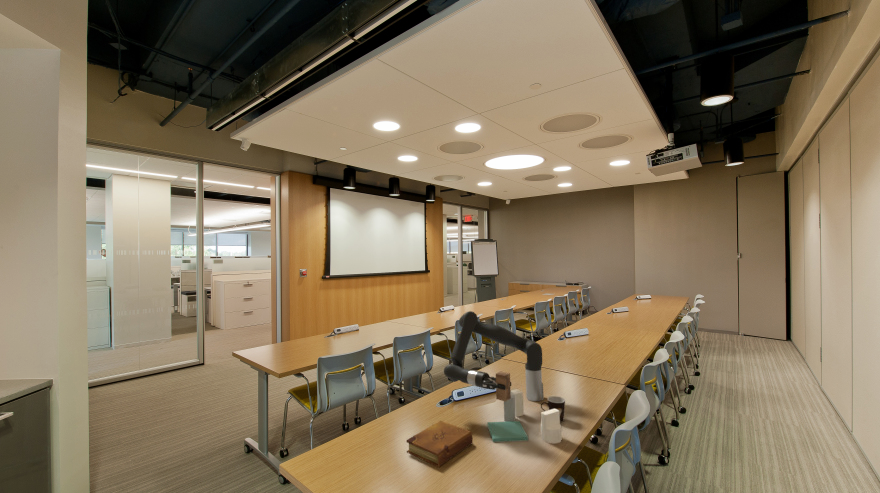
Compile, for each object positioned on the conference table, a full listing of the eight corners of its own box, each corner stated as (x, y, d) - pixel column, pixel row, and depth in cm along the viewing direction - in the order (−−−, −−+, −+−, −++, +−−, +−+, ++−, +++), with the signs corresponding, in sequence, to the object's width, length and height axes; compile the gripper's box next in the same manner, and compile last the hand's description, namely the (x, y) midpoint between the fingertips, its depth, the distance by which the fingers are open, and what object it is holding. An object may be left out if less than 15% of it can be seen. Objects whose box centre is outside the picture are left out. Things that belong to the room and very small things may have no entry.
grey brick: (505, 417, 182) (504, 393, 183) (515, 418, 180) (514, 394, 181) (504, 421, 177) (503, 397, 178) (514, 422, 176) (513, 398, 176)
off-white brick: (517, 411, 188) (516, 388, 189) (523, 414, 184) (522, 391, 184) (510, 413, 186) (509, 390, 187) (516, 417, 182) (515, 393, 182)
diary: (439, 469, 139) (438, 454, 139) (406, 453, 151) (406, 440, 151) (472, 444, 157) (472, 431, 157) (441, 432, 169) (440, 420, 169)
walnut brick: (501, 395, 171) (500, 371, 172) (510, 398, 168) (509, 373, 169) (496, 399, 167) (495, 373, 168) (505, 401, 164) (504, 375, 165)
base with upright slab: (551, 445, 153) (550, 417, 154) (536, 436, 161) (535, 410, 162) (566, 440, 157) (564, 413, 158) (551, 431, 165) (550, 406, 166)
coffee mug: (566, 417, 180) (565, 397, 180) (565, 424, 172) (564, 403, 172) (543, 413, 185) (542, 394, 185) (540, 420, 177) (540, 400, 177)
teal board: (519, 424, 174) (519, 420, 174) (528, 440, 158) (527, 437, 158) (487, 425, 173) (487, 422, 173) (493, 441, 157) (492, 438, 158)
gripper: (470, 375, 172) (500, 382, 161) (485, 367, 183) (515, 373, 172) (470, 390, 171) (501, 398, 161) (486, 382, 182) (515, 389, 172)
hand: (508, 385), depth 166 cm, fingers closed on walnut brick, 5 cm apart
